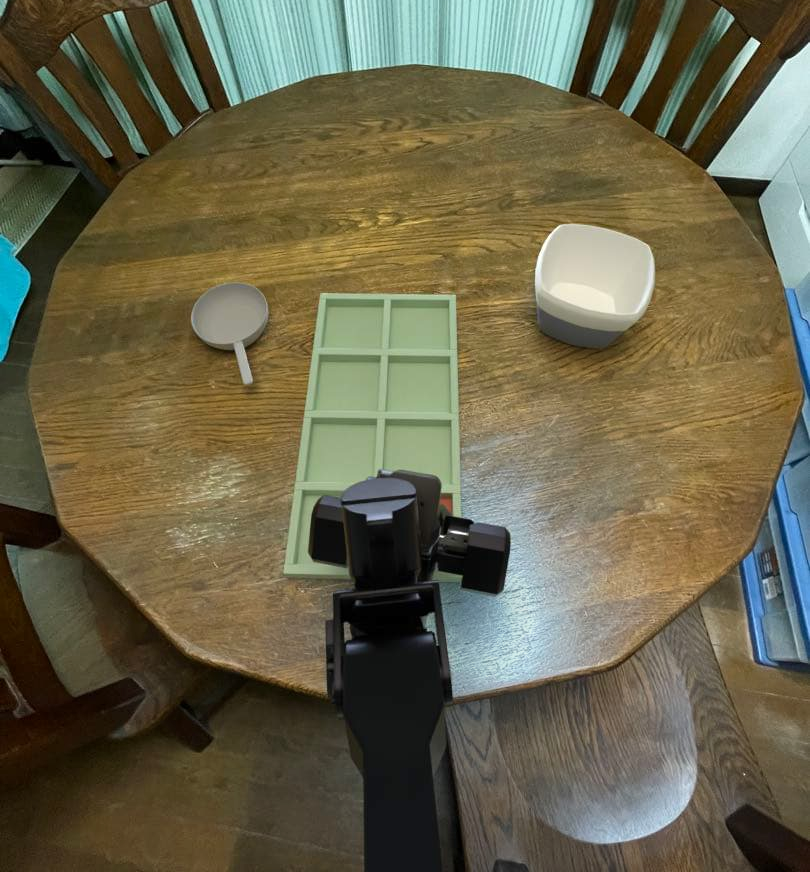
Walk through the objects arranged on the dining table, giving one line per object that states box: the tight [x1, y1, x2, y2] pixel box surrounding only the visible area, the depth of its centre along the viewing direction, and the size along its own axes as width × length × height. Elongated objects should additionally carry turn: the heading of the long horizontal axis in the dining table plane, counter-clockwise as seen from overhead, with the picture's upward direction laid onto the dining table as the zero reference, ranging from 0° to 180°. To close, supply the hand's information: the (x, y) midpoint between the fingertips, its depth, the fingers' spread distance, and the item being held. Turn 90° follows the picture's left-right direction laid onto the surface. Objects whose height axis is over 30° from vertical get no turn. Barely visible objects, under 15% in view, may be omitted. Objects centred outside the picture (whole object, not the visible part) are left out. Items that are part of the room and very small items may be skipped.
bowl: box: [534, 223, 656, 350], centre depth 82 cm, size 15×15×11 cm
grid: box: [282, 292, 462, 583], centre depth 77 cm, size 39×20×2 cm, turn 178°
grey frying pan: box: [190, 281, 269, 386], centre depth 83 cm, size 11×18×4 cm, turn 21°
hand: (418, 504), depth 64 cm, fingers closed on cork, 5 cm apart
